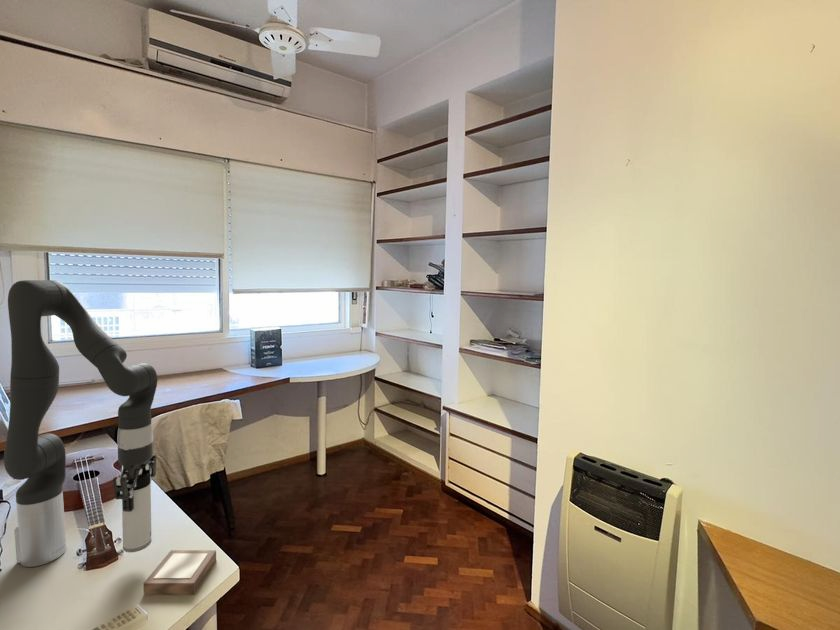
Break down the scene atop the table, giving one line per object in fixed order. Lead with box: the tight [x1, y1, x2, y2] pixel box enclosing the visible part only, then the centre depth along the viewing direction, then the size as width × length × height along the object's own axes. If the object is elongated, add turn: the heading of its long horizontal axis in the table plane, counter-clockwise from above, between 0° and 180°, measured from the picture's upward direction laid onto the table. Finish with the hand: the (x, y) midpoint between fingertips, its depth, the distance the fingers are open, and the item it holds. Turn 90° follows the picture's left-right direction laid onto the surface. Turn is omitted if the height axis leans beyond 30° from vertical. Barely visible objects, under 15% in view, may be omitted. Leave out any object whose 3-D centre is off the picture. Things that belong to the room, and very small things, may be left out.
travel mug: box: [121, 468, 153, 553], centre depth 109 cm, size 6×7×20 cm
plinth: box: [142, 549, 217, 596], centre depth 107 cm, size 12×12×3 cm
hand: (136, 503), depth 109 cm, fingers closed on travel mug, 6 cm apart
